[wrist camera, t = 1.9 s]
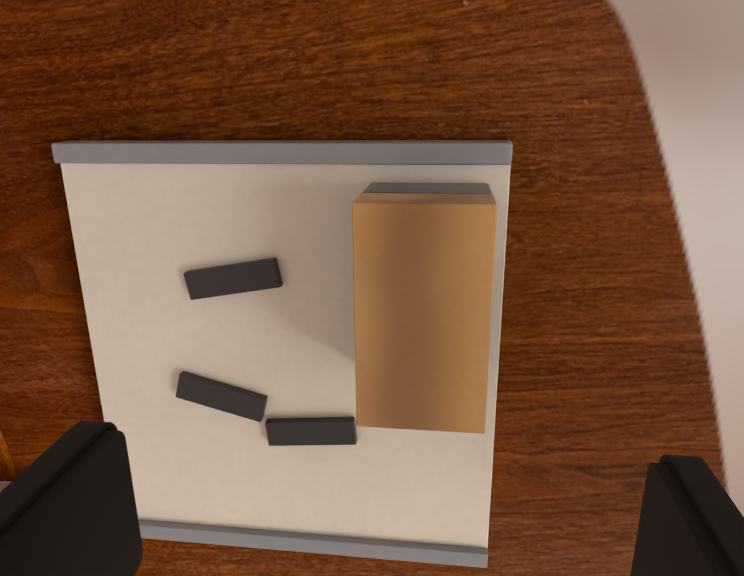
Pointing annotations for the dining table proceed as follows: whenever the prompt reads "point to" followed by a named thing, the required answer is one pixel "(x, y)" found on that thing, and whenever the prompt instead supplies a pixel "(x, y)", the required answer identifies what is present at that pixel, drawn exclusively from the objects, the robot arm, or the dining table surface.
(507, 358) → the dining table surface
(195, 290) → the block
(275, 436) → the bar
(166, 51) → the dining table surface
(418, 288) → the eraser
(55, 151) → the whiteboard
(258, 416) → the marker stroke
